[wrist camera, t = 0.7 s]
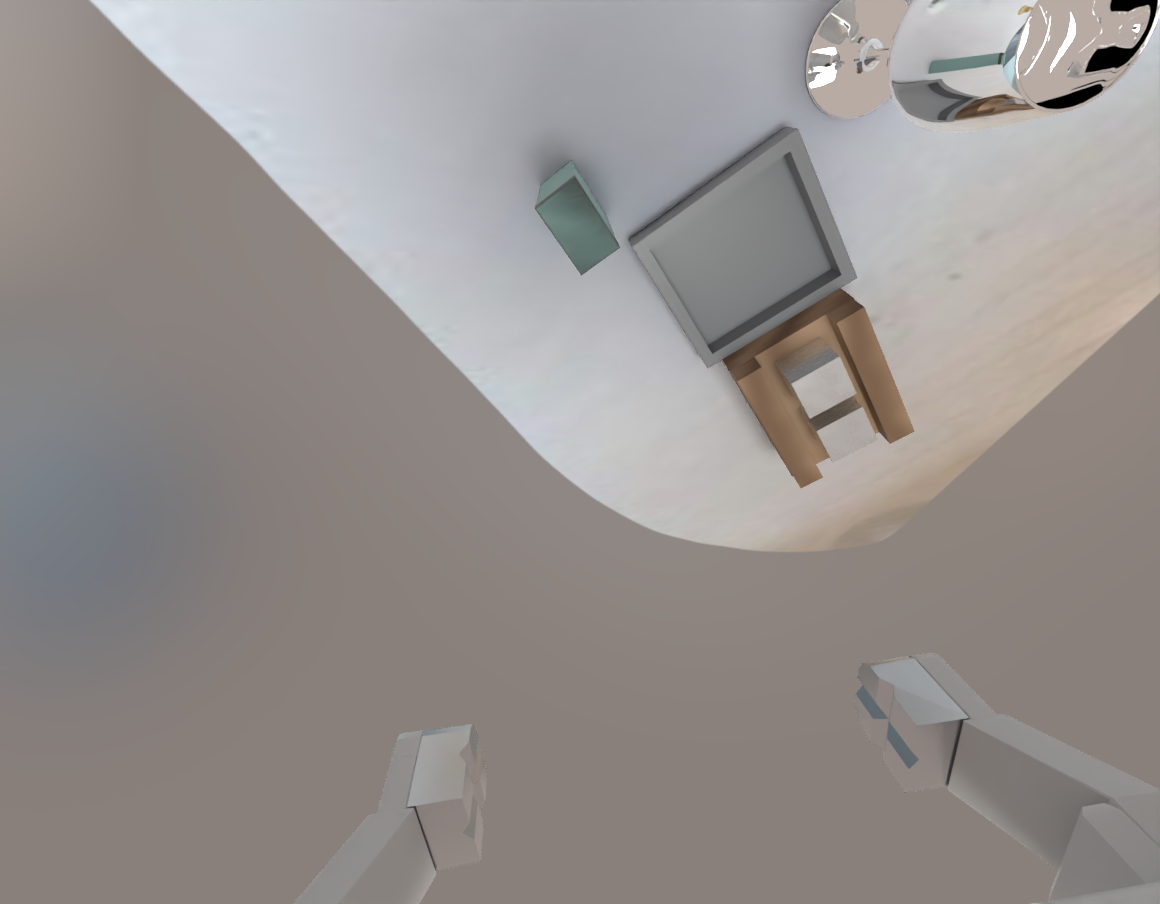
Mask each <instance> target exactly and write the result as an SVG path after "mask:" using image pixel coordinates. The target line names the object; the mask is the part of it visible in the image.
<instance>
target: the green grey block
mask: <svg viewBox="0 0 1160 904" xmlns="http://www.w3.org/2000/svg"><path fill="white" fill-rule="evenodd" d="M535 209H536V211H537V212H538V214H539V215H540V216H541V218H542V219H543V221H544V222H545V224H546V225H547V226H548V228H549V229H550V231H551V232H552V234H553V235H554V237H555V238H556V239H557V241H558V242H559V244H560V245H561V247H562V248H563V249H564V251H565V252H566V254H567V255H568V257H569V258H570V260H571V261H572V262H573V264H574V265H575V267H576V268H577V270H578V271H579V273H580V274H581V275H582V274H584V273H585V272H587V271H588V270H589V269H591V268H592V267H593V266H595V265H596V264H598V263H599V262H600V261H602V260H603V259H605V258H606V257H607V256H609V255H610V254H612V253H613V252H614V251H616V250H617V249H618V248H620V247H619V244H618V242H617V241H616V239H615V236H614V233H613V231H612V228H611V226H610V223H609V220H608V218H607V216H606V214H605V213H604V211H603V210H602V208H601V206H600V205H599V203H598V202H597V200H596V198H595V197H594V195H593V194H592V192H591V191H590V189H589V187H588V186H587V184H586V183H585V181H584V179H583V178H582V176H581V175H580V173H579V171H578V170H577V168H576V167H575V165H574V163H573V162H572V160H571V161H570V162H569V163H567V164H566V165H565V166H564V167H562V168H561V169H560V170H559V171H557V172H556V173H555V174H554V175H553V176H551V177H550V178H549V179H548V180H546V181H545V182H544V183H543V184H541V185H540V190H539V196H538V202H537V205H536V207H535Z"/></svg>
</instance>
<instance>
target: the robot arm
mask: <svg viewBox="0 0 1160 904" xmlns="http://www.w3.org/2000/svg"><path fill="white" fill-rule="evenodd" d="M858 679H859V680H860V682H861V683H862V687H861V688H860V689H859V690H858V691H857V692H856V694H855V709H856V713H857V718H858V721H859V723H860V725H861V727H862V729H863V731H864V733H865V734H866V736H867V737H868V739H869V741H870V742H872V743H873V744H875V745H877V746H878V747H880V748H882V749H883V750H884V763H885V765H886V766H887V767H888V769H889V770H890V772H891V773H892V775H893V776H894V778H895V779H896V781H897V782H898V784H899V785H900V787H901V788H902V790H903V791H904V793H906V792H914V791H922V790H929V789H937V788H945V787H948V790H949V791H950V792H952V793H953V794H954V795H956V796H957V797H958V798H960V799H961V800H963V801H964V802H965V803H967V804H968V805H969V806H971V807H972V808H973V809H975V810H976V811H977V812H979V813H980V814H982V815H983V816H984V817H986V818H987V819H988V820H990V821H991V822H992V823H994V824H995V825H997V826H998V827H999V828H1001V829H1002V830H1003V831H1005V832H1006V833H1008V834H1009V835H1010V836H1011V837H1013V838H1014V839H1016V840H1017V841H1018V842H1020V843H1021V844H1023V845H1024V846H1025V847H1027V848H1028V849H1029V850H1031V851H1032V852H1033V853H1035V854H1036V855H1037V856H1039V857H1040V858H1042V859H1043V860H1044V861H1046V862H1047V863H1048V864H1050V865H1051V866H1052V867H1054V868H1055V869H1057V870H1058V872H1057V875H1056V877H1055V880H1054V883H1053V886H1052V888H1051V891H1050V896H1049V901H1044V902H1037V903H1032V904H1160V790H1159V789H1157V788H1155V787H1153V786H1151V785H1149V784H1147V783H1145V782H1142V781H1140V780H1139V779H1136V778H1134V777H1132V776H1130V775H1128V774H1126V773H1124V772H1122V771H1120V770H1118V769H1116V768H1114V767H1112V766H1110V765H1108V764H1105V763H1104V762H1102V761H1100V760H1098V759H1096V758H1093V757H1091V756H1089V755H1087V754H1085V753H1083V752H1081V751H1079V750H1077V749H1075V748H1073V747H1071V746H1069V745H1067V744H1065V743H1063V742H1061V741H1059V740H1057V739H1054V738H1053V737H1050V736H1049V735H1046V734H1044V733H1042V732H1040V731H1038V730H1036V729H1034V728H1032V727H1030V726H1028V725H1026V724H1024V723H1022V722H1020V721H1018V720H1016V719H1014V718H1012V717H1010V716H1008V715H1006V714H1000V715H997V714H996V713H995V712H994V711H993V710H992V709H991V708H990V707H989V706H988V705H987V704H986V703H985V702H984V701H983V700H982V699H981V698H980V697H979V696H978V695H977V694H976V693H975V692H974V691H973V690H972V689H971V688H970V687H969V686H968V685H967V684H966V683H965V682H964V680H962V679H961V677H960V676H959V675H958V674H957V673H956V672H955V671H954V670H953V669H952V668H951V667H950V666H949V665H948V664H947V663H946V662H945V661H944V660H943V659H942V658H941V657H940V656H939V655H937V654H935V653H933V652H932V653H925V654H919V655H913V656H908V657H906V656H905V657H898V658H892V659H887V660H880V661H875V662H869V663H863V664H862V665H861V666H860V667H859V670H858ZM477 745H478V733H477V730H476V727H475V725H474V724H470V725H461V726H454V727H445V728H438V729H430V730H424V731H416V732H409V733H401V734H400V735H399V737H398V738H397V740H396V742H395V746H394V749H393V753H392V757H391V761H390V765H389V769H388V772H387V776H386V780H385V784H384V787H383V791H382V795H381V798H380V802H379V806H378V810H377V813H375V814H370V815H368V817H367V818H366V819H365V820H364V821H363V822H362V823H361V825H360V826H359V827H358V828H357V829H356V831H355V832H354V833H353V834H352V835H351V836H350V838H349V839H348V840H347V841H346V842H345V843H344V845H343V846H342V847H341V848H340V849H339V851H338V852H337V853H336V854H335V855H334V857H333V858H332V859H331V860H330V861H329V862H328V864H327V865H326V866H325V867H324V868H323V869H322V871H321V872H320V873H319V874H318V875H317V877H316V878H315V879H314V880H313V881H312V882H311V884H310V885H309V886H308V887H307V888H306V890H305V891H304V892H303V893H302V894H301V895H300V897H299V898H298V899H297V900H296V901H295V903H294V904H419V903H420V901H421V900H422V898H423V896H424V895H425V893H426V891H427V889H428V888H429V886H430V884H431V883H432V881H433V879H434V877H435V876H436V871H437V870H442V869H447V868H452V867H457V866H462V865H468V864H473V863H478V862H481V852H482V840H483V828H484V825H483V821H482V817H481V814H480V810H481V808H482V807H483V806H484V804H485V802H486V768H485V761H484V756H483V752H482V751H481V750H479V749H478V748H477Z"/></svg>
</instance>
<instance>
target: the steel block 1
mask: <svg viewBox="0 0 1160 904" xmlns="http://www.w3.org/2000/svg"><path fill="white" fill-rule="evenodd" d="M774 363H775V365H776V366H777V368H778V370H779V372H780V374H781V376H782V378H783V380H784V381H785V383H786V385H787V387H788V389H789V391H790V393H791V394H792V396H793V397H794V399H795V400H796V401H797V403H798V404H799V405H800V407H801V408H802V409H803V411H804V412H805V413H806V414H807V416H808V417H809V418H810V419H811V418H812V417H814V416H816V415H818V414H820V413H822V412H824V411H825V410H827V409H829V408H831V407H833V406H835V405H837V404H838V403H840V402H842V401H844V400H846V399H848V398H850V397H851V396H853V395H855V394H857V393H856V391H855V389H854V387H853V384H852V382H851V380H850V378H849V376H848V373H847V371H846V369H845V367H844V365H843V363H842V360H841V358H840V356H839V355H838V354H837V353H836V352H835V351H833V350H832V349H831V348H830V347H829V346H828V345H827V344H826V343H825V342H824V341H823V340H822V339H821V338H820V337H817V338H816V339H814V340H812V341H810V342H809V343H807V344H805V345H804V346H802V347H800V348H798V349H797V350H795V351H793V352H792V353H790V354H788V355H786V356H785V357H783V358H781V359H780V360H778V361H776V362H774Z"/></svg>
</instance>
